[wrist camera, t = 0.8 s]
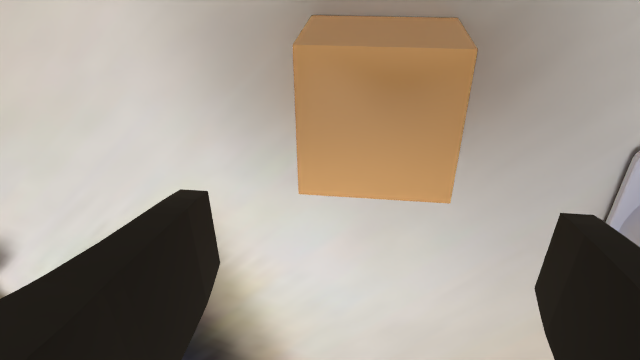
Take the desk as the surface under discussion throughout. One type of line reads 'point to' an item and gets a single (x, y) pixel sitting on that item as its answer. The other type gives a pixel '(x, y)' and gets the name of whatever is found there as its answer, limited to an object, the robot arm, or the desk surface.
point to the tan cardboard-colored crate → (381, 105)
